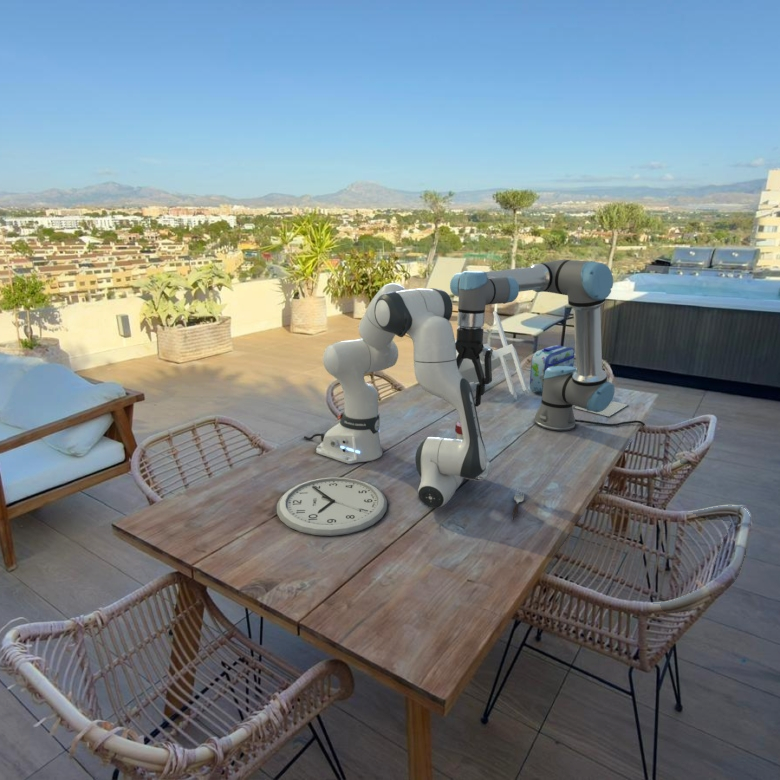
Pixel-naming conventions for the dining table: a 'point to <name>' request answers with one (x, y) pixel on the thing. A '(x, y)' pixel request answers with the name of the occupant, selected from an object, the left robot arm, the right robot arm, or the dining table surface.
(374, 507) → the wall clock
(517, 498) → the fork
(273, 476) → the dining table surface
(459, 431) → the lid
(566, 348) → the lunch box
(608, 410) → the invitation card
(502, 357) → the white plastic object
